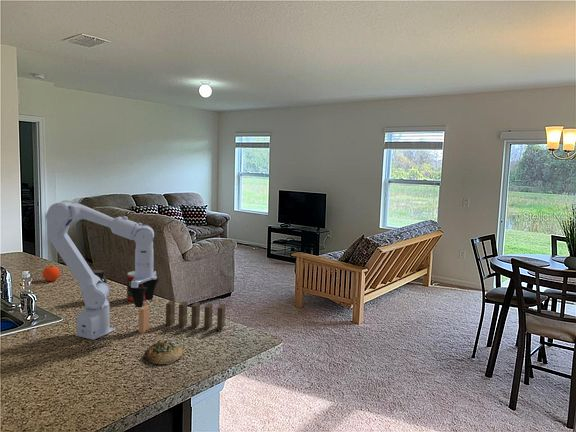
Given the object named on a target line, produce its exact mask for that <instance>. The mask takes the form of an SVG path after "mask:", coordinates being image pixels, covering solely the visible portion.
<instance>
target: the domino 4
mask: <svg viewBox="0 0 576 432" xmlns="http://www.w3.org/2000/svg"><path fill="white" fill-rule="evenodd" d="M200 312H201V303H200V302H196V301H195V302H194V303H192V305H191V319H190V320H191V322H190V323H191V324H190V325H191V326H190V327H191V328H196V329H198V327H199V326H200V325H199V324H200V323H201V322H200V319H201V318H200V316H201V313H200ZM198 325H199V326H198ZM197 326H198V327H197ZM191 328H190V329H191Z"/></svg>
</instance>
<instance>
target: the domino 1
mask: <svg viewBox="0 0 576 432" xmlns="http://www.w3.org/2000/svg"><path fill="white" fill-rule="evenodd" d="M149 329H150V305H144V304H143V306H142V307H139V309H138V333H139V334H145V332H147V331H148V330H149ZM146 330H147V331H146Z"/></svg>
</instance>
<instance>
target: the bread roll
mask: <svg viewBox="0 0 576 432" xmlns="http://www.w3.org/2000/svg"><path fill="white" fill-rule="evenodd" d="M184 353H185V351H184V350H183V349H182V348H181V347H179V346H178V345H176V344H175V343H174V342H171V341H169V340H165V341H162V342H161V341H160V340H157V342H155V343H153V344H151V345H150V347H148V348H147V349H146V350H145V352H144V354H143V357H144V360H145V361H146V360H147V361H148V362H147V361H146V362H147V363H149V362H150V363H151V364H153V363H154V364H153V365H155V364H165V363H171V362H173V363H175V362H174V361H176V360H178V359H179V358H180V359H181V357H182V356H183V355H184ZM180 359H179V360H180ZM179 360H178V361H179ZM176 362H177V361H176ZM171 364H172V363H171Z"/></svg>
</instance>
